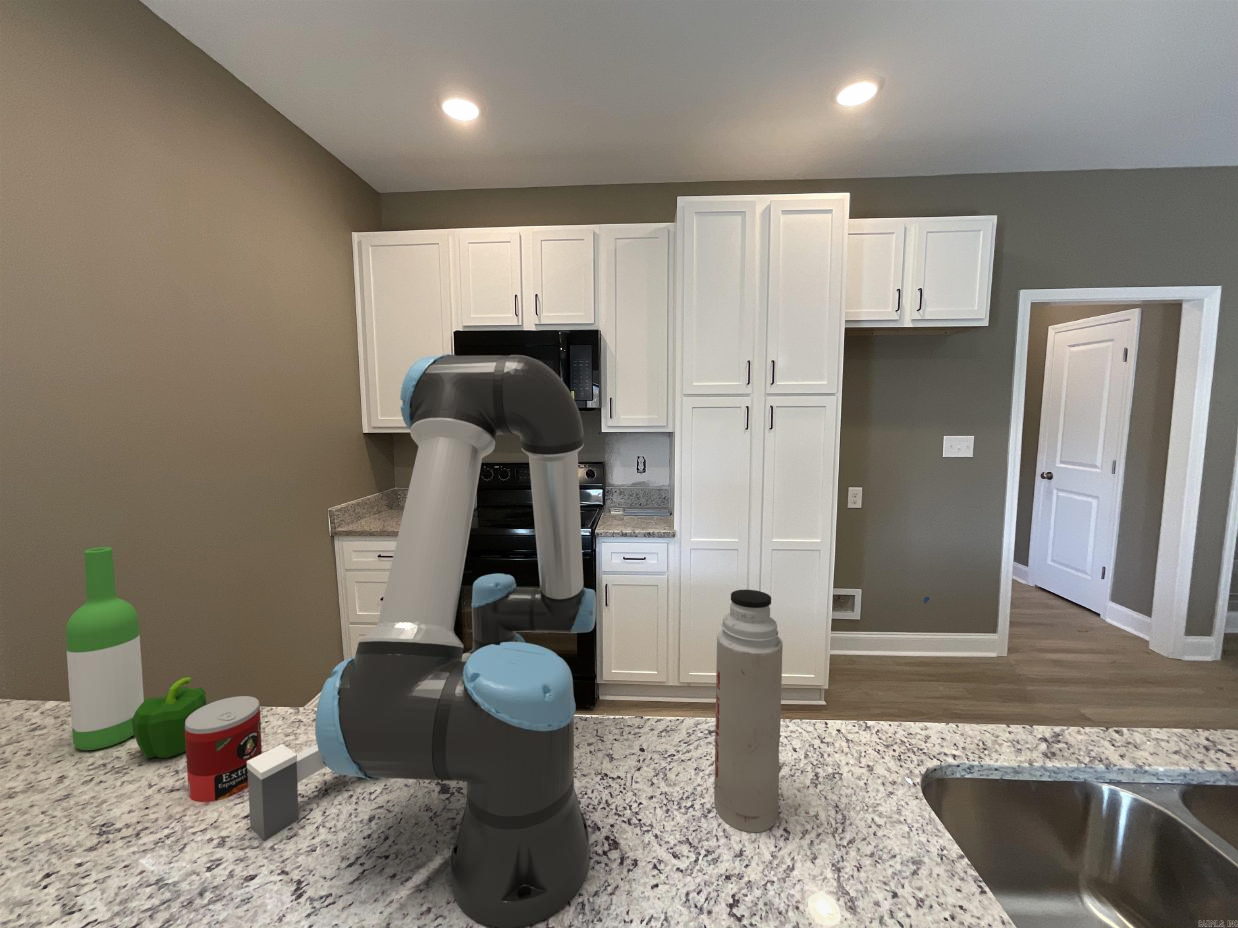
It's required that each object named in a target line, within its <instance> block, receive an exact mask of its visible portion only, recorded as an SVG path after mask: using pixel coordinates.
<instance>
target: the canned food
mask: <svg viewBox="0 0 1238 928" xmlns="http://www.w3.org/2000/svg"><path fill="white" fill-rule="evenodd" d="M260 708H261V705H260V700H259V699H257V698H256V697H253V696H249V695H248V696H247V695H246V696H245V695H242V696H241V695H240V696H239V695H238V696H232V697H227V698H223V699H220V700H219V699H218V700H216V701H213V702H211V703H208V704H206V705H205V706H203V707H201V708H199V709H198V710H196V711H194V712H193V713H192V714H191V715H189V716H188V718H187V719H186V722H185V743H186V751H185V758H186V772H187V775H186V776H187V787H188V788H187V791H188V797H189V799H190V800H192V801H194V802H198V803H211V802H216V801H221V800H223V799H227V798H229V797H232V796H234V795H237V794H239V793H240V792H243V791H245V790H247V788H248V768H247V761H248V760H250V759H252V758H254V757H256V756H258V755H260V754H263V751H262V749H263V748H262V724H261V721H262V719H261V709H260Z"/></svg>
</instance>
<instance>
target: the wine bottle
mask: <svg viewBox="0 0 1238 928" xmlns="http://www.w3.org/2000/svg"><path fill="white" fill-rule="evenodd" d="M84 567H85V569H84V571H85V587H86V588H85V590H86V602H85V603H84V604H82V605H81V606H80V607H79V608H78V609H77V610H75V611H74V612H73V614H72V615H71V616H70V617H69V619H68V621H67V623H66V626H65V642H66V659H67V661H66V662H67V675H68V676H67V677H68V690H69V692H68V693H69V703H70V704H69V705H70V719H71V721H70V722H71V731H72V742H73V745H74V747H75V748H76V749H78V750H81V751H94V750H101V749H104V748H108V747H109V748H110V747H111V746H114V745H117V744H120V743H122V742H124V741H126V740H128V739H130V738H131V736H132V737H133V736H134V733H133V725H132V718H133V716H134V714H135V712H136V710H137V709H138V708H139V706H140V705H141V704H142V703H143V702H144V700H145V697H144V682H143V668H142V651H141V636H140V625H139V624H140V623H139V614H138V612H137V610H136V608H135V607H134V606H133V605H132V604H131V603H129V601H126V600H125V599H122V598H118V597H117V595H116V581H115V580H116V579H115V569H114V568H115V567H114V554H113V548H112V547H110V546H104V547H103V546H102V547H94V548H89V549H88V548H87V549H86V550H85V551H84Z"/></svg>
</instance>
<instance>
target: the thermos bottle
mask: <svg viewBox="0 0 1238 928" xmlns="http://www.w3.org/2000/svg"><path fill="white" fill-rule="evenodd" d="M730 600H731V602H730V606H729V613H727V614H725V615H724V616H723V619H722V623H721V628H722V629H721V630H720V631H719V632H718V633H717V635H716V665H715V666H716V667H715V668H716V671H715V673H716V674H715V675H716V676H715V725H714V727H715V728H714V731H715V734H714V737H715V738H714V788H713V789H714V791H713V793H714V796H713V803H714V804H713V805H714V807H715V808H714V809H715V811H716V812H717V814H718V816H719V817H720V818H721V819H722V821H724V822H725V823H727V824H728V825H729V826H730V827H732V828H735V829H737V830H739V831H743V832H747V833H760V832H765V831H768V830H770V829H771V828H772V827H773V826H774V825H775V824H776V823H777V820H778V818H779V796H780V795H779V792H780V791H779V790H780V740H781V721H782V720H781V719H782V717H781V716H782V713H781V712H782V681H783V680H782V675H783V646H784V645H783V640H782V638H780V636H779V631H778V623H777V621H776V620H775V619H774V618H772V617H771V607H770V605H771V604H772V596H771V595H770V594H768V593H766V592H763V591H760V590H755V589H737V590H734V591H731V593H730Z"/></svg>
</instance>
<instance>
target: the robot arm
mask: <svg viewBox="0 0 1238 928" xmlns="http://www.w3.org/2000/svg"><path fill="white" fill-rule="evenodd" d="M399 396H400V398H399V399H400V400H401V402H402V404H401V405H400V413H401V417H402V420H403V422H404V425H405V426H406V427H407V429H409V434H410V436H411V437H410V438H411V439H412V440H413V441H414V442H415V444H416V445H417V447H418V448H417V453H416V456H415V462H414V465H413V469H412V474H411V479H410V483H409V486H408V490H407V491H408V492H407V495H406V500H405V504H404V509H403V513H402V517H401V521H400V525H399V530H398V535H397V539H396V543H395V548H394V551H393V556H392V559H391V565H390V569H389V573H388V578H387V582H386V585H385V590H384V594H383V600H382V602H381V603H382V604H381V607H380V612H379V616H378V621H377V624H376V626H375V627H374V628H373V629H372V630H370V631H369V632H368V633H366V634H365V635H363V636H362V637H360V638H359V639H358V643H357V646H356V652H355V654H354V656H352V657H349V658H347V659H345V660H343V661H341V662H339V663H338V664H337V665H336V666H335V667H334V668H333V669H332V670H331V672H330V676H331V677H328V678H327V679H326V680H325V682H324V684H323V686H322V689H321V691H320V695H319V698H318V702H317V706H316V713H315V724H314V726H315V727H314V728H315V729H314V730H315V741H316V743H315V744H313V745H312V746H310V747H307V748H306V749H304V750H302V751H300V752H298V753H296V754H297V784H298V783H300V782H301V781H304V780H306V779H307V778H308V777H310V776H312V775H314V774H315V773H317V772H319V771H321V770H323V769H325V768H326V767H327V768H328V769H329V770H331V771H332V772H333V773H335V774H338V775H342V776H348V777H360V778H362V779H365V780H369V781H374V780H378V779H397V780H399V779H400V780H402V779H403V780H419V781H420V780H423V781H452V782H453V781H454V782H465V783H466V805H465V808H464V811H463V815H462V817H461V821H460V824H459V829H458V833H457V834H456V837H455V839H454V841H453V846H452V850H451V856H450V883H451V885H450V886H451V890H452V894H453V896H454V900H455V901H456V903H457V904H458V906H459V908H460V909H461V910H462V912H464V913H465V914H466V915H467V916H468V917H470V918H471V919H472V920H473V921H476V922H478V923H480V924H483V925H486V926H489V927H492V928H521V927H526V926H530V925H533V924H536V923H539V922H541V921H543V920H546V919H547V918H549V917H551V916H552V915H554V914H555V913H557V912H558V911H560V910H561V909H563V908H564V907H565V906H566V905H567V904H568V903H569V902H570V901H571V899H573V897H575V895H576V894H577V892H578V891H579V890H580V888H581V886H582V885H583V883H584V881H585V878H586V876H587V873H588V870H589V864H590V832H589V827H588V823H587V821H586V818H585V816H584V813H583V811H582V810H581V805H580V801H579V797H578V794H577V792H576V790H575V778H574V777H575V774H574V773H575V765H574V763H575V762H574V761H575V757H574V755H575V754H574V752H575V751H574V749H575V748H574V746H575V745H574V744H575V743H574V741H575V737H574V736H575V730H574V728H575V721H574V719H575V714H576V706H577V705H576V702H575V701H576V700H575V697H574V681H573V675H572V670H571V668H570V666H569V665H568V663H567V662H566V660H564V658H562V657H560V656H559V655H558V654H557V653H556V652H554V651H553V650H551V649H549V648H546V647H544V646H541V645H538V644H534V643H529V642H526V641H525V639H524V638H523V637H522V636H521V635H520V634H519V633H516V632H528V633H529V632H543V633H544V632H545V633H567V634H576V633H579V634H581V633H589V632H591V631H593V629H594V627H595V625H596V624H595V623H596V617H597V596H596V591H595V589H591V588H586V587H584V569H583V568H584V567H583V565H584V564H583V550H582V548H583V547H582V546H583V544H582V525H581V522H582V521H581V519H582V518H581V503H580V502H581V501H580V500H581V499H580V479H579V475H580V474H579V458H578V456H579V455H578V454H579V452H580V451H581V450H582V449H583V447H584V445H585V442H584V426H583V420H582V418H581V413H580V410H579V408H578V406H577V403H576V401H575V398H574V397H573V395H572V393H571V391H570V389H569V388H568V386H567V385H566V383H564V381H563V380H562V378H561V377H560V376H559V375H558V374H557V373H556V372H555V371H554V370H553V369H552V368H550V367H549V366H548V365H546V364H545V363H543V362H542V361H540V360H538V359H536V358H533V357H530V356H528V355H527V356H526V355H524V354H523V355H522V354H521V355H520V354H510V355H456V354H449V353H445V354H440V355H436V356H435V355H431V356H425V357H421V358H420V359H418V360H416V361H415V362H414V363H413V364H412V365H411V366H410V367H409V369H408V370H407V372H406V374H405V376H404V379H403V382H402V385H401V389H400V395H399ZM498 435H518V436H519V438H520V446H521V447H520V448H521V451H522V452H524V453H525V454H526V455H527V456H528V462H529V475H530V486H531V487H530V488H531V496H532V508H533V509H532V511H533V519H534V531H535V543H536V554H537V564H538V576H539V577H538V578H539V587H517V583H516V580H515V578H514V576H512V575H510V574H505V573H491V574H486V575H482V576H480V577H478V578H477V579H476V580H475V581H474V582H473V584H472V596H471V598H472V599H471V603H470V604H471V617H472V621H471V622H472V623H471V624H472V625H471V626H472V649H470V650H469V651H466V652H465V653H464V650H465V649H464V648H465V647H464V646H465V645H464V644H463V642H462V641H461V640H460V638H459V637H458V636H457V635H456V633H455V630H454V629H455V623H456V618H457V617H456V616H457V610H458V604H459V598H460V591H461V587H462V580H463V574H464V569H465V564H466V563H465V562H466V557H467V551H468V546H469V539H470V532H471V527H472V520H473V515H474V509H475V502H476V496H477V490H478V485H479V478H480V473H481V466H482V459H483V458H485V457H486V456H488V455H490V454H491V453H493V451H494V450H495V446H496V443H497V442H496V441H497V436H498Z"/></svg>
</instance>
